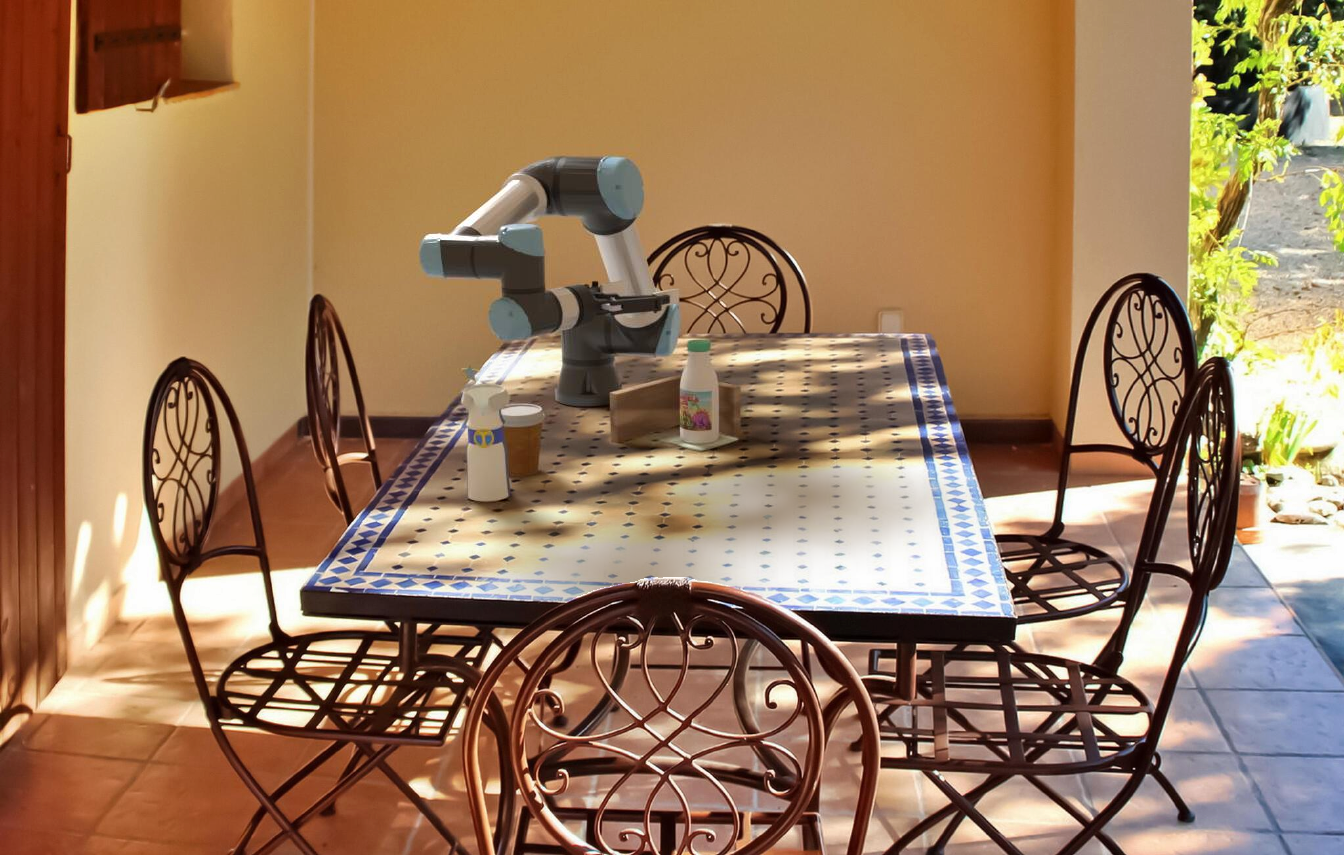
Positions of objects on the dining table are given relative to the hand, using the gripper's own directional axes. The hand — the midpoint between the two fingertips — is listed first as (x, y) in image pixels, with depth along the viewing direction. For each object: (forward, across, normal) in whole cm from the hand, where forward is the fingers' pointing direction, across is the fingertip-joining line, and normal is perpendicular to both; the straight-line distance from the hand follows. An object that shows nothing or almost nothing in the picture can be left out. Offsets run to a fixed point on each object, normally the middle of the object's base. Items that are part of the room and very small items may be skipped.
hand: (651, 291), depth 270 cm
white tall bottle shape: (-37, -5, -32) cm, 49 cm away
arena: (+11, -4, -32) cm, 34 cm away
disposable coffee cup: (-24, -11, -32) cm, 42 cm away
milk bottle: (+12, 0, -32) cm, 34 cm away
